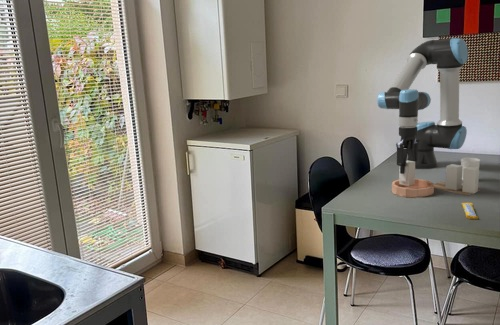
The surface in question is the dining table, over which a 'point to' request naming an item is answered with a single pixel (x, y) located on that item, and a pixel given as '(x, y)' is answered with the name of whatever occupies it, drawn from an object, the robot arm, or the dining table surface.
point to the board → (443, 187)
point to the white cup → (469, 163)
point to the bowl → (413, 189)
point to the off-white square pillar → (470, 179)
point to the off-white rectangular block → (454, 177)
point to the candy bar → (469, 211)
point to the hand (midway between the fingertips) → (406, 179)
